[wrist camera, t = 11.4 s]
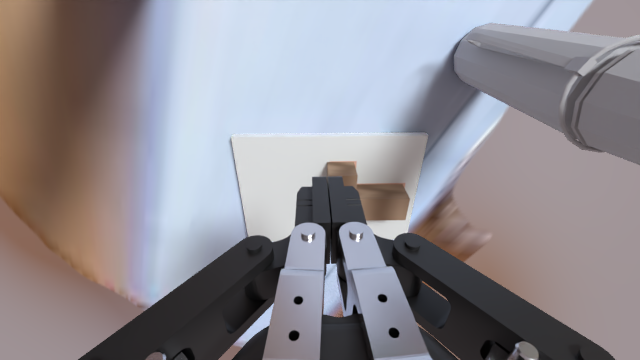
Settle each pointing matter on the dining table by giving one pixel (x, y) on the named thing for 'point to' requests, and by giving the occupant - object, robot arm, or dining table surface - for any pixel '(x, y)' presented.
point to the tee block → (373, 194)
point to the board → (320, 172)
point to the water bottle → (561, 81)
